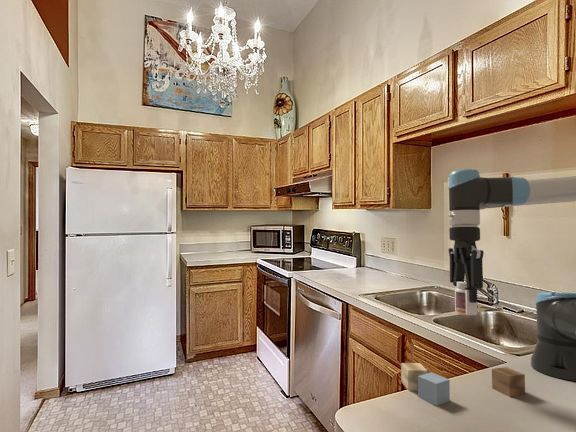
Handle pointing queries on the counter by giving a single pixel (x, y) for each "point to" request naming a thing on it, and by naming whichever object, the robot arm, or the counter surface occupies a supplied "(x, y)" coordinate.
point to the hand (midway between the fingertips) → (465, 312)
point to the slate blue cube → (433, 388)
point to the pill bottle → (460, 298)
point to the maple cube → (411, 374)
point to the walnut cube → (508, 381)
